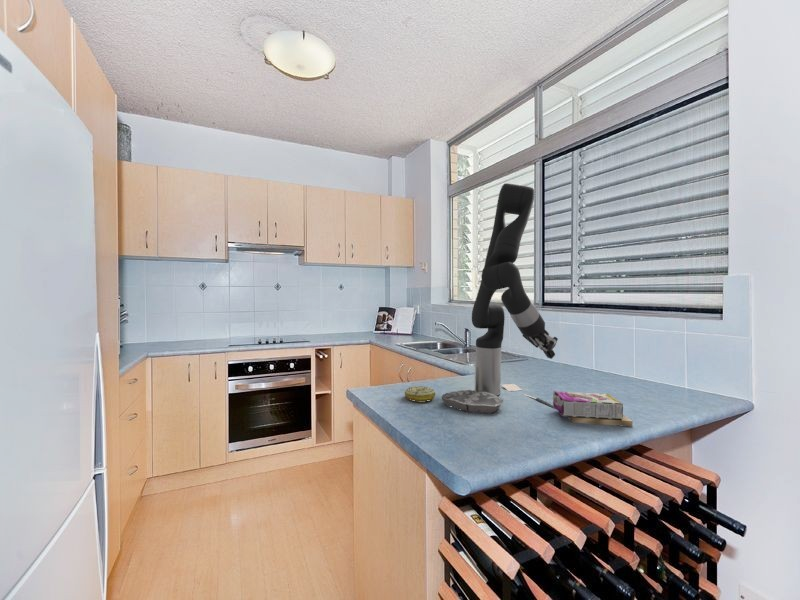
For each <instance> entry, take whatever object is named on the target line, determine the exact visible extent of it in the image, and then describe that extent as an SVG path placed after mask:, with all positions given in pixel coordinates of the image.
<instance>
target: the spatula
mask: <svg viewBox="0 0 800 600" xmlns="http://www.w3.org/2000/svg"><path fill="white" fill-rule="evenodd" d="M501 388H503V389H505V390H506V391H508V392H514V391H515V392H516V391H523V389H522V388H521V387H519V386H518V385H516V384H514V383H508V384H505V383H504V384H501ZM523 395H524V396H526V397H529V398H531V399H535V401H538V402H540V403H542V404H544V405H545V406H548V407H549V408H552V409H554V410H556V411H558V410H557V409H556V408H555V407H554V406H553V404H551V403H549V402H547V401H544V400H543V399H541V398H538V397H535V396H531V395H528V394H523Z"/></svg>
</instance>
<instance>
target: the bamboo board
mask: <svg viewBox="0 0 800 600" xmlns="http://www.w3.org/2000/svg"><path fill="white" fill-rule="evenodd" d="M566 417H567V418H568V419H569V420H570V422H571V423H573V424H585V425H586V424H588V425H602V426H616V425H622V426H621V427H633V425H634V424H633V420H631V419H630V418H629V417H628V416H626V415H625V414H623V419H622V420H619V419H602V418H585V417H568V416H566Z"/></svg>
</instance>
